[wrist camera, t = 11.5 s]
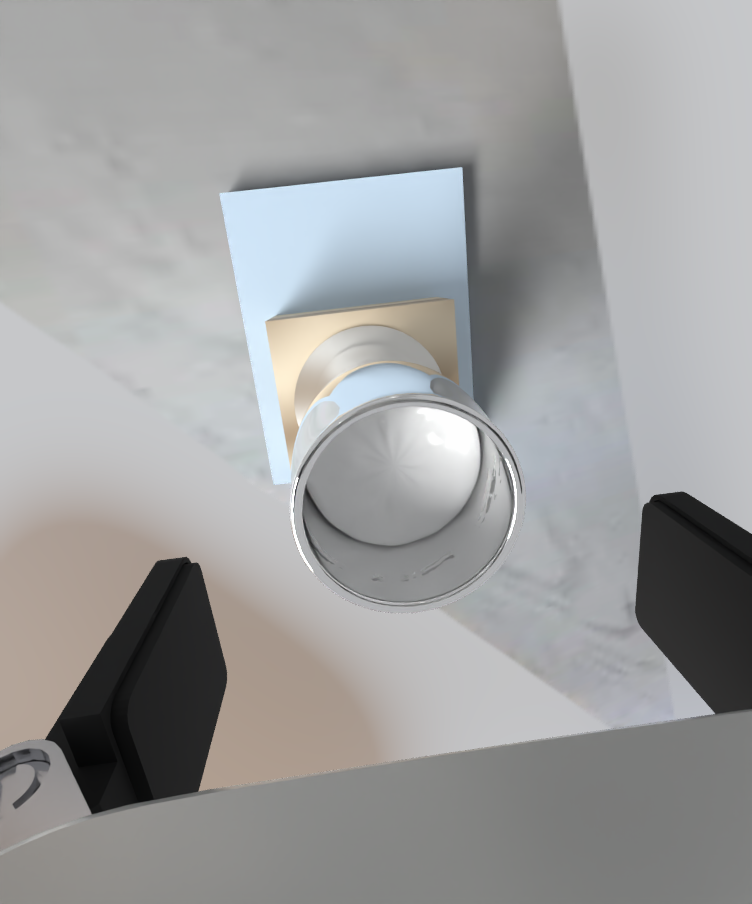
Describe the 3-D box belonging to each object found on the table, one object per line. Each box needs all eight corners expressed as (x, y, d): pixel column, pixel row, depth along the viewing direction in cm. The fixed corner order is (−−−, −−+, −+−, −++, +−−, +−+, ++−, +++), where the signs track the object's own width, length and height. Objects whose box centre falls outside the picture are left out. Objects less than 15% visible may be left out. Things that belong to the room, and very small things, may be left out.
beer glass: (423, 323, 27) (523, 363, 13) (441, 446, 30) (543, 595, 15) (294, 348, 27) (252, 414, 13) (321, 469, 29) (311, 641, 15)
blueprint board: (224, 197, 31) (219, 193, 29) (456, 172, 31) (462, 167, 30) (276, 477, 36) (273, 485, 35) (471, 452, 37) (476, 458, 36)
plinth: (275, 315, 32) (264, 321, 27) (436, 296, 32) (455, 299, 27) (300, 467, 35) (295, 498, 30) (446, 448, 35) (465, 476, 30)
